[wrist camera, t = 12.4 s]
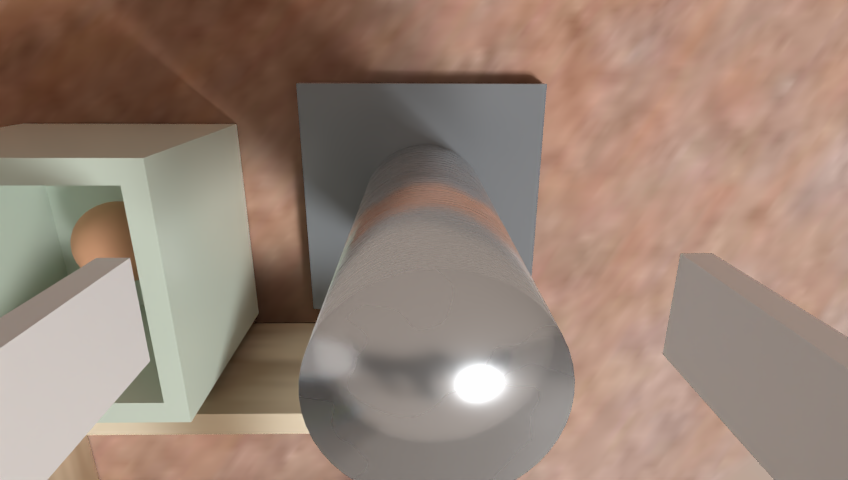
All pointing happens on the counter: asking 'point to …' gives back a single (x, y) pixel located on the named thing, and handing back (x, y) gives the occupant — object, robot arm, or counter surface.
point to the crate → (228, 397)
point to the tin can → (433, 336)
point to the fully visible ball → (103, 235)
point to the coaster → (407, 126)
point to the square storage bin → (139, 242)
